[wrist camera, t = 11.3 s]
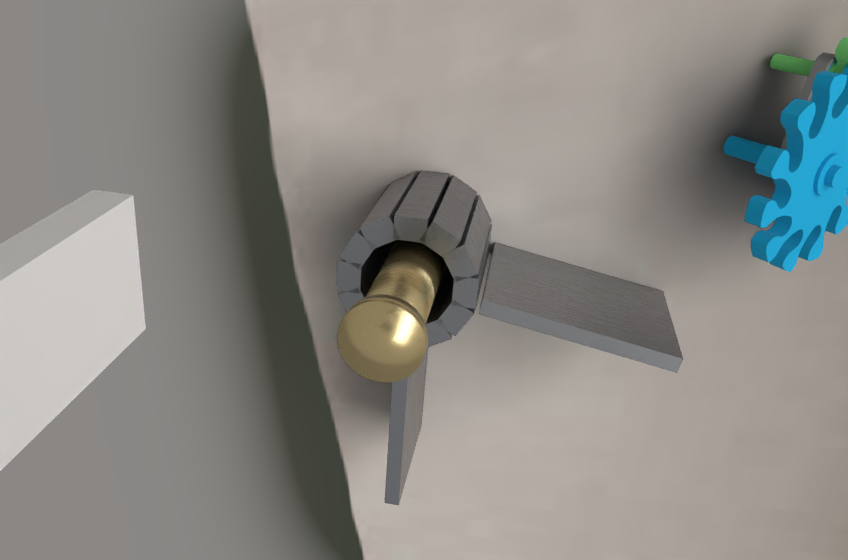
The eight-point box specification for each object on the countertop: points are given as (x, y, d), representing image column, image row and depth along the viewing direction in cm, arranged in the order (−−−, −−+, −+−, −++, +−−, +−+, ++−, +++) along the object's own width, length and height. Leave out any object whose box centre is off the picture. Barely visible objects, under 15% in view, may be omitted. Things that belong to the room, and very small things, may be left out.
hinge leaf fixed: (374, 165, 45) (338, 208, 38) (496, 179, 44) (484, 226, 37) (362, 416, 52) (330, 494, 44) (468, 432, 51) (453, 513, 44)
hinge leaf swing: (491, 254, 46) (478, 313, 39) (495, 242, 46) (483, 299, 38) (658, 303, 45) (676, 372, 38) (663, 291, 45) (683, 359, 38)
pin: (400, 195, 45) (338, 296, 33) (466, 203, 45) (428, 308, 32) (396, 256, 47) (336, 375, 34) (460, 264, 46) (422, 388, 34)
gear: (841, 277, 42) (745, 275, 35) (743, 238, 46) (641, 230, 39) (932, 67, 38) (845, 23, 32) (817, 46, 43) (720, 3, 36)
